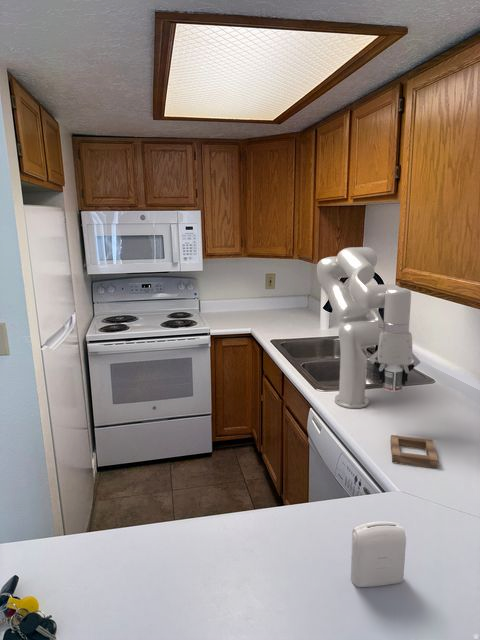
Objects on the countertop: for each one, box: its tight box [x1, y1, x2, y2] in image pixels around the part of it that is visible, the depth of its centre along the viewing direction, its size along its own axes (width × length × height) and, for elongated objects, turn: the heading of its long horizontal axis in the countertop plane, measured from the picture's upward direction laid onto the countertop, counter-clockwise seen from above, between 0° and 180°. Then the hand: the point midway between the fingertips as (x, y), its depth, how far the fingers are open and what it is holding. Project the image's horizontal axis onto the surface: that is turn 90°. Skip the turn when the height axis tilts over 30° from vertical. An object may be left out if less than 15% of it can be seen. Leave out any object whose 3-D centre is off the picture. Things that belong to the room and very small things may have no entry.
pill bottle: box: [382, 364, 404, 393], centre depth 136 cm, size 6×6×10 cm
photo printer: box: [350, 521, 407, 588], centre depth 83 cm, size 10×4×12 cm, turn 96°
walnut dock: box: [389, 434, 439, 469], centre depth 127 cm, size 12×12×2 cm
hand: (392, 382), depth 137 cm, fingers closed on pill bottle, 5 cm apart
